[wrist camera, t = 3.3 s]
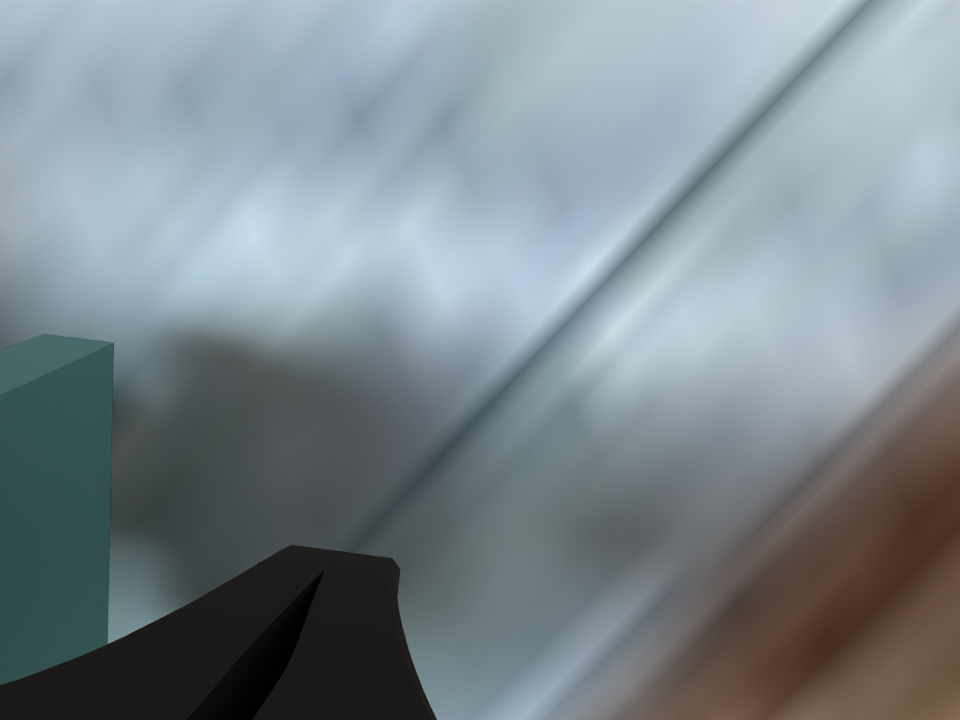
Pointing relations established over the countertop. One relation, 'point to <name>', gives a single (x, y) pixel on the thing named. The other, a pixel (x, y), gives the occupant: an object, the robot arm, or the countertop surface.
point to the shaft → (54, 501)
